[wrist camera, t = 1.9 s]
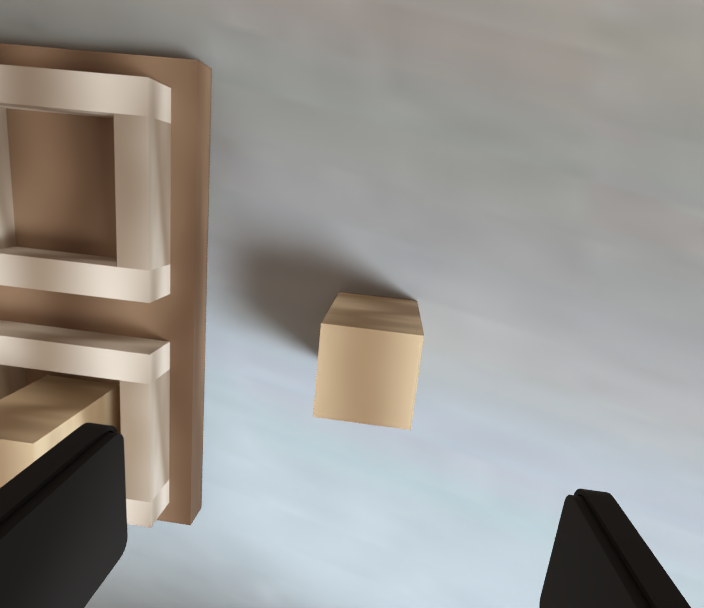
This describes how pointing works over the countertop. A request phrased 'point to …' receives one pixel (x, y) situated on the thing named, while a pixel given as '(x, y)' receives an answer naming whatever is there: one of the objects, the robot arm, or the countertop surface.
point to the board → (105, 263)
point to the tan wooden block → (369, 360)
